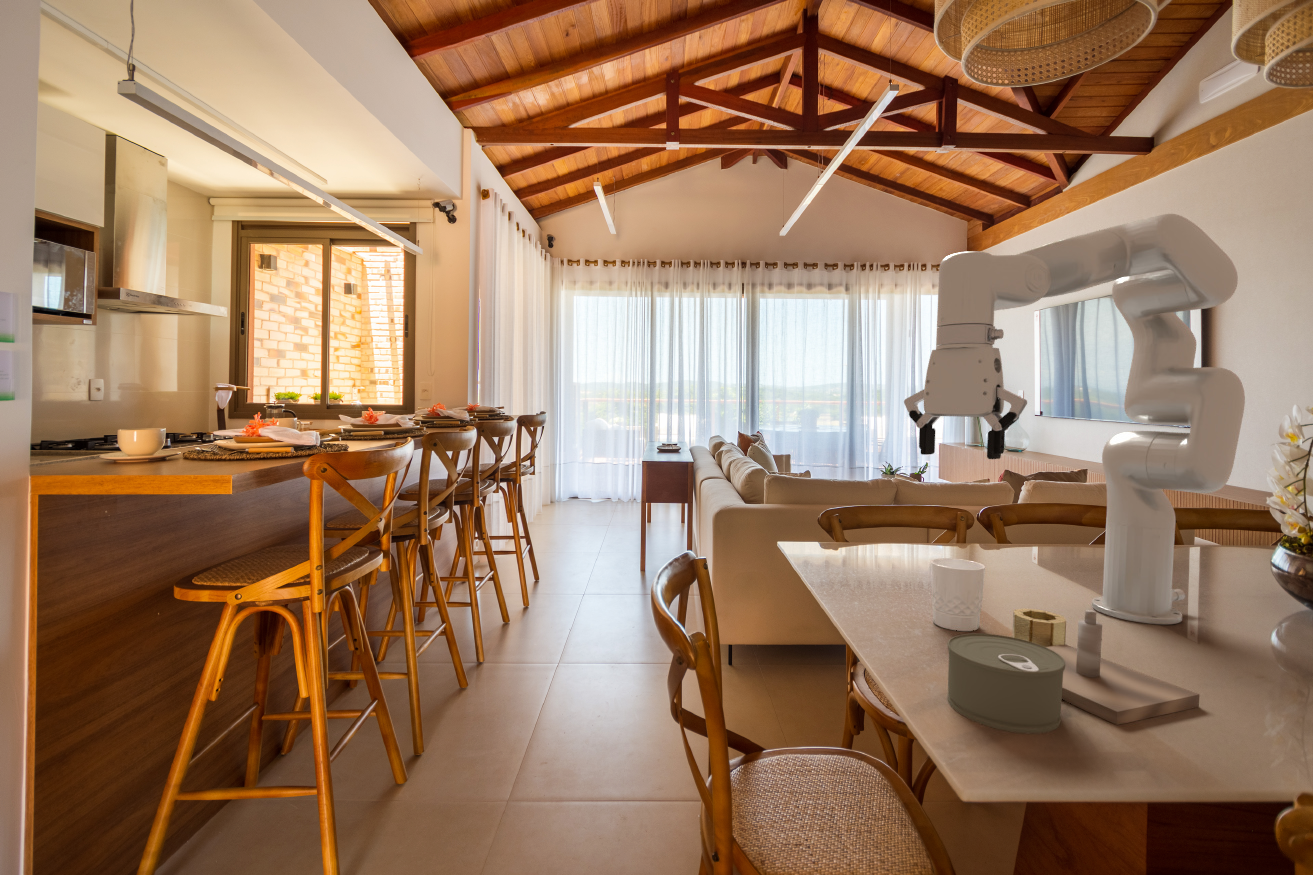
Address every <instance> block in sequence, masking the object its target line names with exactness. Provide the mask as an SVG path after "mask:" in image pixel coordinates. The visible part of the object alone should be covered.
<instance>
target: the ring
mask: <svg viewBox="0 0 1313 875" xmlns="http://www.w3.org/2000/svg"><path fill="white" fill-rule="evenodd" d="M1012 622H1013V623H1012V637H1013V638H1018V639H1022V640H1026V641H1029V642H1033V643H1036V644H1039V645H1041V646H1044V647H1050V646H1057V645H1064V644H1065V645H1066V634H1067V633H1066V632H1067V630H1066V629H1067V620H1066V618H1065V617H1064V616H1063V615H1061V614H1058V613H1055V612H1052V611H1046V610H1043V609H1035V608H1018V609H1013V620H1012Z"/></svg>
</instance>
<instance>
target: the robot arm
mask: <svg viewBox="0 0 1313 875" xmlns="http://www.w3.org/2000/svg"><path fill="white" fill-rule="evenodd" d="M938 269H939V270H938V286H937V287H938V288H937V291H938V292H937V317H936V341H935V349H932V350H931V354H930V356H929V360H928V365H927V369H926V375H925V381H924V389H921V390H920V391H918V392H916V393H914V394H912V395H910V396H908V397H906V398H905V399H904V401H903V403H904V407H905V408H906V411H907V412H908V416H909V418H910V419H911V420H912V421H913V422H914V423H915V424H916V427H917V428H918V429H919V436H918V438H919V439H918V448H919V449H920V455H922V456H923V455H924V456H925V455H934V454H935V451H936V448H935V447H936V428H935V427H933V425H934V424H935V423H936V422H937V421H938V420H939V418H940V417H957V418H959V417H962V418H964V417H968V418H969V417H970V418H983V419H984V420H985V421H986V422H987V424H988V425H989V426H990V428H991V430H989V431H987V443H986V444H987V445H986V447H987V448H986V458H987V459H988V460H1000V459H1001V456H1002V455H1003V454H1004V452H1005V438H1006V435H1005V434H1006V431H1007V430H1009V429H1010V427H1011V426H1013V424H1014V423H1016V422H1017V421H1018V420H1019V419H1020V416H1021V414H1022V413H1023V412H1024V410H1025V408H1026V406H1027V405H1028V400H1027V399H1025V398H1024V397H1021V396H1019V395H1017V394H1016V393H1013V392H1011V391H1009V390H1007V389H1005V388H1004V386H1005V385H1004V373H1003V372H1004V371H1003V363H1002V358H1001V351H1000V348H998V347H994V345H995V342H996V341H997V340H1002V339H1003V338H1004V330H1003V329H1002V328H1000V329H997V328H996V326H995V323H994V322H995V312H996V311H1000V310H1003V311H1005V310H1009V309H1017V308H1021V307H1027V306H1030V305H1032V304H1034V303H1036V302H1039V301H1040V300H1041V299H1043V298H1052V297H1053V298H1054V297H1057V296H1063V295H1068V294H1073V293H1077V292H1080V291H1084V290H1086V289H1090V288H1093V287H1096V286H1100V285H1103V284H1106V283H1107V284H1108V283H1110V282H1113V284H1112V290H1111V293H1112V299H1113V302H1114V305H1115V306H1116V308H1117V309H1118V311H1119V313H1120V314H1121V316H1122V317H1123V319H1124V320H1125V322H1126V324H1127V325H1128V328H1129V329H1130V331H1131V335H1132V338H1133V353H1132V359H1131V365H1130V369H1129V374H1128V379H1127V383H1126V384H1127V385H1126V389H1125V390H1126V391H1125V395H1124V406H1123V407H1124V411H1125V414H1126V416H1127V417H1128V419H1130V420H1131V421H1133V422H1136V423H1140V424H1146V425H1157V426H1160V425H1161V426H1185V427H1186V426H1190V430H1189V432H1174V431H1155V430H1153V431H1152V430H1130V431H1124V432H1121V433H1117V434H1115V435H1114V436H1112V437H1111V438H1109V439H1108V440H1107V441H1106V443H1105V444H1104V446H1103V449H1102V452H1101V453H1102V454H1101V455H1102V456H1101V457H1102V459H1101V461H1102V468H1103V473H1104V478H1105V487H1106V520H1105V522H1106V523H1105V536H1104V537H1105V539H1104V540H1105V541H1104V557H1103V558H1104V561H1103V583H1102V596H1096V597H1094V598H1092V600H1091V607H1092V608H1093V609H1094V611H1096V612H1099V613H1101V614H1103V615H1107V616H1110V617H1114V618H1115V619H1116V618H1117V619H1119V620H1120V619H1121V620H1125V621H1129V622H1130V621H1131V622H1136V623H1141V624H1142V623H1143V624H1151V625H1175V624H1179V623H1181V622H1182V621H1183V614H1182V612H1181V611H1179V610H1178V609H1176V608H1174V607H1173V603H1174V602H1178V601H1183V600H1184V599H1185V598H1186V593H1185V592H1184V590H1182V589H1180V588H1176V589H1173V588H1172V587H1173V575H1174V574H1173V572H1174V553H1175V536H1176V535H1175V534H1176V532H1175V531H1176V520H1177V519H1176V512H1175V510H1174V507H1173V505H1172V503H1171V502H1170V501H1171V500H1170V499H1169V497H1168V496H1167V495H1166V493H1165V492H1164V490H1166V491H1167V490H1169V491H1170V490H1171V491H1177V492H1186V493H1187V492H1188V493H1196V494H1197V493H1198V494H1199V493H1200V494H1206V493H1207V494H1209V493H1210V494H1211V493H1214V492H1217V491H1219V490H1221V489H1222V488H1224V486H1226V484H1227V483H1228V481H1229V479H1230V478H1231V477H1230V476H1231V474H1232V472H1233V471H1232V470H1233V469H1234V468H1233V467H1234V464H1235V459H1236V453H1237V448H1238V444H1239V443H1238V442H1239V437H1240V432H1241V427H1242V422H1243V417H1244V411H1245V403H1246V396H1245V389H1244V386H1243V382H1242V381H1241V379H1240V377H1239V376H1238V375H1237V374H1236V373H1235V372H1233V371H1232V370H1230V369H1227V368H1223V367H1215V366H1214V367H1213V366H1212V367H1211V366H1208V367H1207V366H1204V367H1203V366H1202V367H1194V364H1195V358H1196V351H1197V339H1196V337H1195V335H1194V333H1193V331H1192V330H1191V329H1190V327H1189V326H1188V325H1187V324H1186V323H1185V322H1184V321H1183V320H1182V319H1181V318H1180V317H1179V316H1178V315H1177V314H1176V313H1177V312H1186V311H1196V310H1203V309H1210V308H1213V307H1214V308H1215V307H1218V306H1220V305H1222V304H1224V303H1226V302H1227V301H1228V300H1230V299H1232V297H1233V295H1234V294H1235V291H1236V290H1237V287H1238V281H1239V280H1238V272H1237V269H1236V265H1235V264H1234V262H1233V261H1232V259H1231V258H1230V257H1229V255H1228V254H1227V253H1226V252H1225V251H1224V250H1223V249H1222V247H1220V246H1219V245H1218V244H1217V243H1216V242H1215V241H1214V240H1213V239H1212V238H1211V237H1210V236H1209V235H1208V234H1207V233H1206V232H1205V231H1204V230H1202V229H1201V227H1199V226H1198V224H1197V225H1196V223H1194V222H1193V221H1192V220H1189V219H1188V218H1186V217H1184V216H1183V215H1179V214H1176V213H1164V214H1159V215H1154V216H1151V217H1147V218H1143V219H1140V220H1135V221H1130V222H1127V223H1123V224H1119V225H1115V226H1111V227H1110V226H1109V227H1106V228H1103V229H1099V230H1095V231H1091V232H1087V233H1082V234H1079V235H1075V236H1071V237H1066V238H1063V239H1061V240H1057V241H1053V242H1049V243H1046V244H1044V245H1040V246H1037V247H1035V248H1034V247H1033V248H1031V249H1029V250H1026V251H1022V252H1019V253H1016V254H1003V255H1000V254H999V255H997V254H995V255H994V254H991V253H989V252H985V251H979V250H977V251H975V250H974V251H973V250H972V251H961V252H956V253H952V254H950V255H947V256H945V257H944V258H943V259H942V260H941V262H940V263H939V268H938ZM921 402H923V409H924V410H923V411H924V413H922V412H921V411H920V409H919V406H918V405H919V403H921ZM1005 402H1007V403H1009V404H1010V405H1011V406H1010V408H1009V411H1008V412H1006V414H1005V415H1003V416H1002V415H1001V414H1003V412H1004V409H1005V408H1004V407H1005Z"/></svg>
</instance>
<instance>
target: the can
mask: <svg viewBox="0 0 1313 875" xmlns="http://www.w3.org/2000/svg"><path fill="white" fill-rule="evenodd" d="M947 649H948V670H947V671H948V672H947V674H948V676H947V677H948V678H947V680H948V681H947V691H948V692H947V702H948V704H949V705H950V707H951V708H952V710H954V711H955V712H957V713H958V714H960V715H961V716H962V717H965V718H966V719H968V720H970V721H973V722H975V723H978V724H980V725H984V726H986V727H990V728H993V729H995V730H996V729H997V730H1001V731H1005V732H1010V733H1018V734H1043V733H1049V732H1052V731H1055V730H1057V729H1058V728H1059V727H1060V725H1061V720H1062V718H1061V711H1062V710H1061V709H1062V701H1063V700H1062V683H1063V671H1064V669H1065V661H1064V659H1063V658H1062V657H1061V656H1060V655H1059V654H1057V653H1056V652H1054V651H1052V650H1050V649H1048V648H1046V647H1044V646H1041V645H1039V644H1036V643H1033V642H1029V641H1026V640H1022V639H1018V638H1013V636H1007V635H1002V634H1001V635H999V634H992V633H991V634H990V633H965V634H963V633H962V634H959V635H955V636H953V637H951V638H949V640H948V641H947Z"/></svg>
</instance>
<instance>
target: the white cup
mask: <svg viewBox="0 0 1313 875" xmlns="http://www.w3.org/2000/svg"><path fill="white" fill-rule="evenodd" d="M930 563H931V564H930V567H931V569H930V571H931V574H930V576H931V577H930V578H931V580H930V581H931V582H930V583H931V604H932V622H933V623H934V625H936V626H938V627H941V628H943V629H946V630H950V631H956V630H957V631H956V632H972V631H973V630H974V631H977V630H978V629H979V628H980V618H981V614H980V613H981V610H982V603H983V598H984V597H983V595H984V594H983V593H984V583H985V574H986V573H985V572H986V566H985V565H984V564H983V563H980V562H976V561H973V560H967V559H962V558H951V557H941V558H934V559H932V560H931V561H930Z"/></svg>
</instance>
